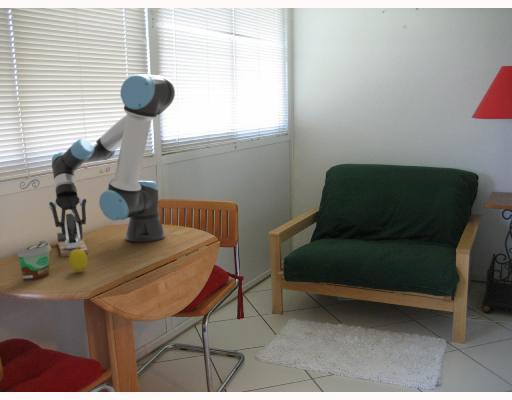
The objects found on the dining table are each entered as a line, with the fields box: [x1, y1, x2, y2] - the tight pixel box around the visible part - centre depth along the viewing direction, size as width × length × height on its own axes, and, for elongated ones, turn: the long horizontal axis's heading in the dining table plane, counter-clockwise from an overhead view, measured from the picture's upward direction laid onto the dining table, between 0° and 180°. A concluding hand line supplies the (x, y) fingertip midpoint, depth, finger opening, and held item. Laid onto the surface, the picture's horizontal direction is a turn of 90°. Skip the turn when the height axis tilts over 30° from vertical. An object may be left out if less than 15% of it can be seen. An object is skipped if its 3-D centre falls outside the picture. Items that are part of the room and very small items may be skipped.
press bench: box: [56, 231, 89, 258], centre depth 202 cm, size 20×9×4 cm, turn 23°
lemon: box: [68, 248, 88, 273], centre depth 172 cm, size 6×6×8 cm
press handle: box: [65, 212, 81, 249], centre depth 197 cm, size 5×5×12 cm
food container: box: [17, 240, 52, 282], centre depth 169 cm, size 12×6×10 cm, turn 168°
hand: (73, 240), depth 194 cm, fingers closed on press handle, 3 cm apart
